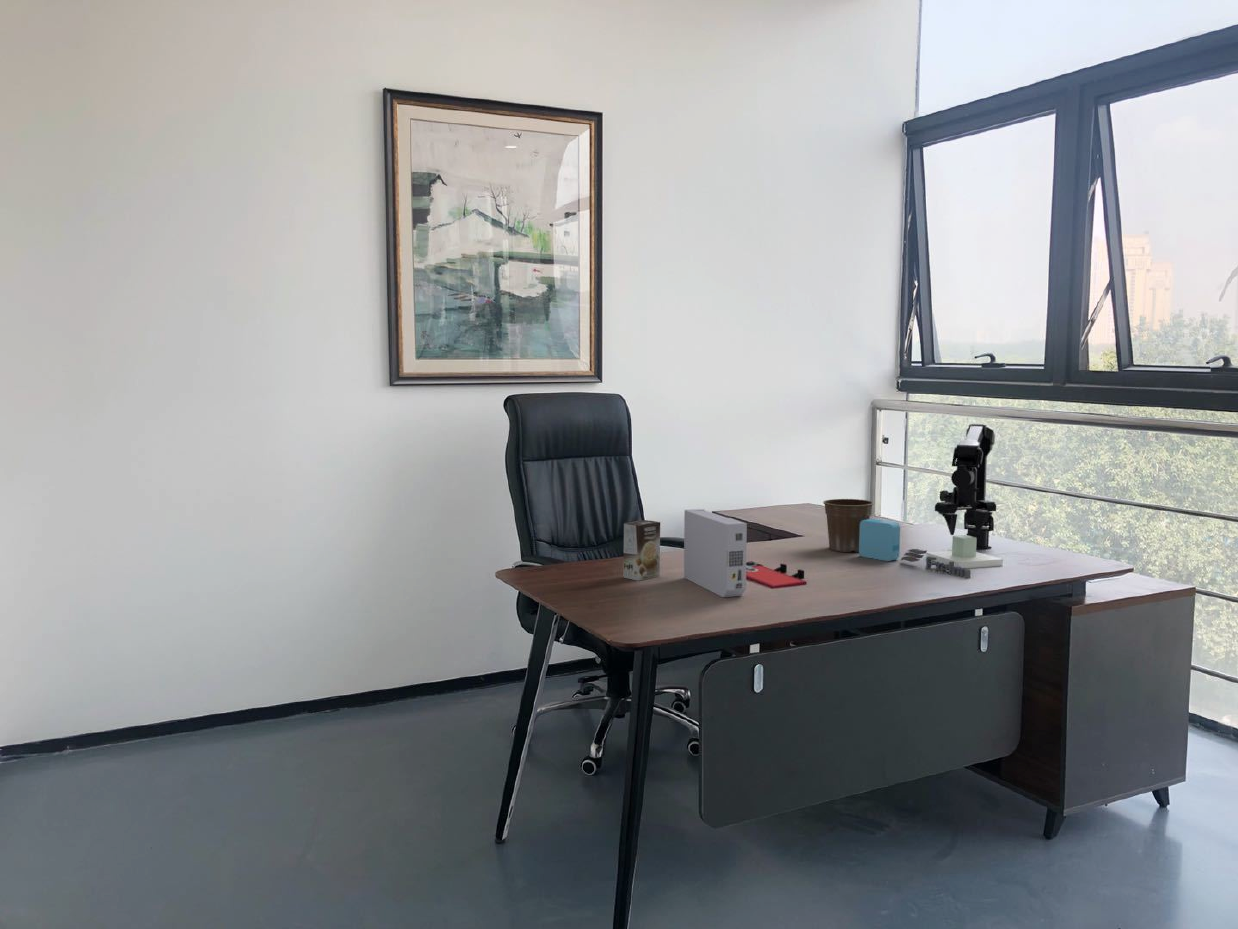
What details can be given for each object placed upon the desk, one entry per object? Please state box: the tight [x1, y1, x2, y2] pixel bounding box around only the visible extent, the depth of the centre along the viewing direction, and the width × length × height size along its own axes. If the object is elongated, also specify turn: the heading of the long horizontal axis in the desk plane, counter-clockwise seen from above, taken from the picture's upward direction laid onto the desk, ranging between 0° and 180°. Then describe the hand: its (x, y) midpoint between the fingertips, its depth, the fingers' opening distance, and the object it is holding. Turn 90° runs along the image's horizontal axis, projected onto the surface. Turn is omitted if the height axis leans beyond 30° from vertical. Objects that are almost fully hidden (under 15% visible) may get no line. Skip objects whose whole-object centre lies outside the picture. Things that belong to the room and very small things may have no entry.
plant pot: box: [822, 498, 874, 553], centre depth 309 cm, size 16×16×16 cm
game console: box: [683, 508, 748, 598], centre depth 254 cm, size 6×27×20 cm, turn 20°
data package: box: [858, 518, 901, 562], centre depth 294 cm, size 12×4×12 cm, turn 43°
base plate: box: [925, 550, 1004, 569], centre depth 289 cm, size 16×16×2 cm
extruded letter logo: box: [900, 548, 971, 579], centre depth 277 cm, size 25×2×6 cm, turn 30°
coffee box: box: [622, 519, 661, 582], centre depth 267 cm, size 9×6×16 cm
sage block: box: [951, 534, 977, 558], centre depth 288 cm, size 5×5×6 cm
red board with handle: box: [746, 560, 808, 589], centre depth 270 cm, size 30×3×15 cm
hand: (964, 534), depth 288 cm, fingers open, 9 cm apart
